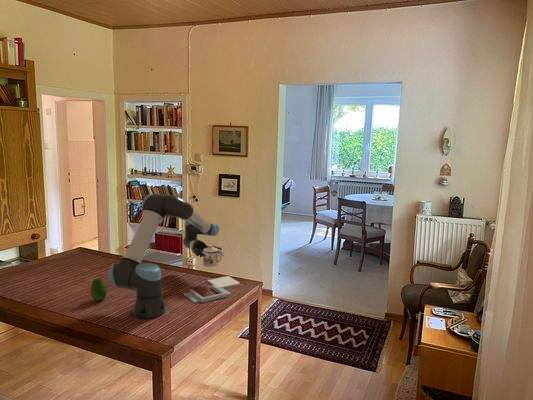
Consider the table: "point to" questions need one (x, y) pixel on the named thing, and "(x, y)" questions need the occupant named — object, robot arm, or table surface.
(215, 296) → the cradle
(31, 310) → the table surface
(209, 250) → the teacup with lid
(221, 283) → the mat
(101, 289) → the avocado
